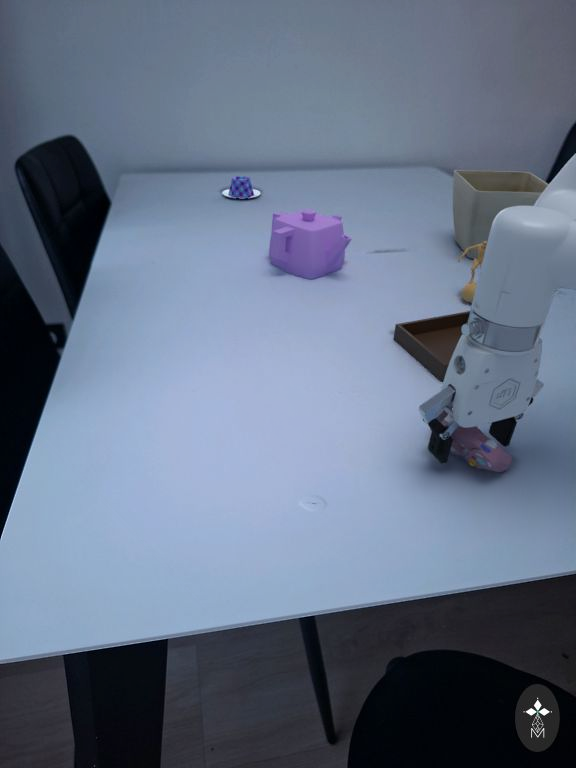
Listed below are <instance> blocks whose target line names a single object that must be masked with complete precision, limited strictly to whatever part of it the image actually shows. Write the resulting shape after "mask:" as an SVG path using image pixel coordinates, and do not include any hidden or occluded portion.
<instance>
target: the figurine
mask: <svg viewBox="0 0 576 768" xmlns="http://www.w3.org/2000/svg"><path fill="white" fill-rule="evenodd" d="M486 246H487V241H484V242H483V243H481V244H477V245H475V246H471V247H468V248H467V249H466V251H465V252H464V251H463V253H462V254H461V255H460V257H459V258H458V261H457V263H460V262H461V261H462V258H463V257H465V256H466V253H467V252H468V250H472V249H478V259H477V258H475V259H473V263H472V265H471V269H470V270H471V277H470V280H469V282H468V283H466V284H465V285H464V286H463V287H462V289H461V298H462V299H463V300H464V301H465V302H467V303H470V304H472V302H473V298H474V294H475V290H476V286H477V282H478V280H477V281H476V282H474V279H475V274H476V272H475V270H476V269H477V268H478V267H479V270H481V266H482V262H483V258H484V254H485V250H486ZM479 265H480V266H479Z"/></svg>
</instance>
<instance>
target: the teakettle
mask: <svg viewBox="0 0 576 768" xmlns="http://www.w3.org/2000/svg"><path fill="white" fill-rule="evenodd" d="M342 218H343V217H342V216H340V215H332V216H331V217H330V216H328V215H325V214H321V213H318V212H317V211H316V210H315V209H311V208H307V209H306V208H304V209H302V210H299V211H294V212H290V213H286V212H282V211H277V212H274V213H272V221H271V234H270V240H269V248H268V252H269V253H268V256H269V260H270V263H271V265H273V266H274V267H276V268H278V269H280V270H282V271H284V272H285V273H286V272H287V273H289V274H292V275H293V276H297V277H301V278H303V279H307V280H315V279H318V278H321V277H325V276H326V275H329V274H331V273H332V274H333V273H334V272H336V271H338V270H340V269H342V268H343V265H344V262H345V257H346V249H347V247H348V246H349V244H350V243H351V241H352V237H350V236H349V235H347V234H345V231H344V225H343V222H342Z"/></svg>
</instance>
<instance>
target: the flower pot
mask: <svg viewBox="0 0 576 768" xmlns="http://www.w3.org/2000/svg"><path fill="white" fill-rule="evenodd" d="M452 179H453V180H452V216H453V229H454V236H455V242H456V243H457V245H458V246H459V247H460V248H461V251H463V253H464V252H465V251H466V249H467V248H468V247H471V246H475V245H477V244H481V243H483V242H484V241H487V242H488V238H489V234H490V230H491V226H492V223H493V221H494V219H495V217H496V216H497V214H498V213H499V212H500V211H502V210H504V209H506V208H508V207H513V206H534V204H535V203H536V201H537V200H538V198H539V197H540V195H541V194H542V193H543V191H544V190H545V189H546V188H547V186H548V185H549V184H550V183H548V182H546V181H545V180H543V179H541V177H539V176H537V175H535V174H533V173H532V172H530V171H511V170H510V171H509V170H508V171H507V170H478V169H477V170H476V169H454V170H453V178H452ZM465 256H466V257H467V258H468V259H471V260H474V259H475V258H477V260H478V249H472V250H468V252H467V253H466V254H465Z"/></svg>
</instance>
